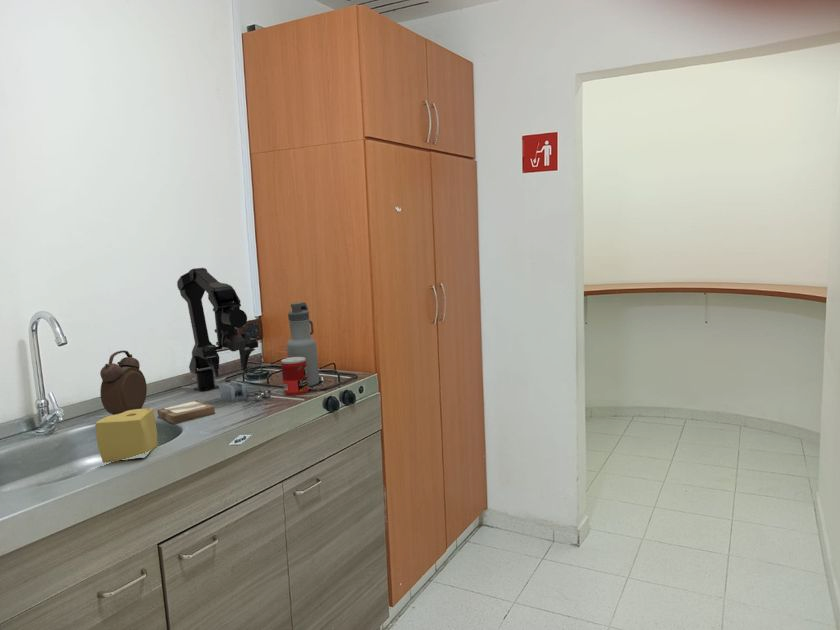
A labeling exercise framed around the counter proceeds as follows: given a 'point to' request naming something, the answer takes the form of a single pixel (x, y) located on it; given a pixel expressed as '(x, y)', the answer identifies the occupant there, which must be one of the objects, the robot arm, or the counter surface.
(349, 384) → the counter surface
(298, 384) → the canned food
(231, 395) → the housing
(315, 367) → the water bottle
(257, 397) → the loose bolts
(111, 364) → the alarm clock
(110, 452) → the cheese
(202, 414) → the picture frame
